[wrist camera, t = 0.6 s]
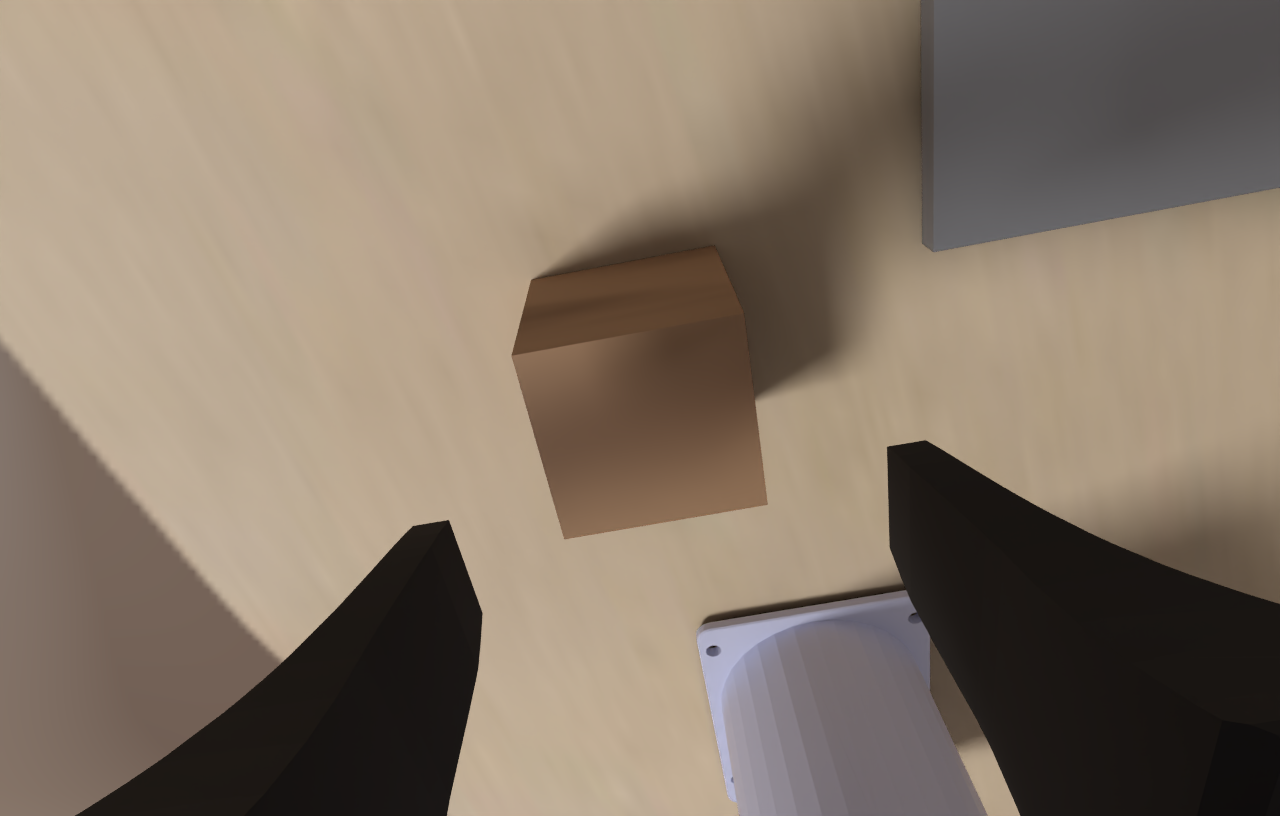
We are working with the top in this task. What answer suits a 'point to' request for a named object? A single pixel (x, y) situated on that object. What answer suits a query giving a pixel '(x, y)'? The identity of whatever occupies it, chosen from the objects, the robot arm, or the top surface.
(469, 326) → the top surface
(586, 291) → the walnut cube
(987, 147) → the coaster
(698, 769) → the top surface
